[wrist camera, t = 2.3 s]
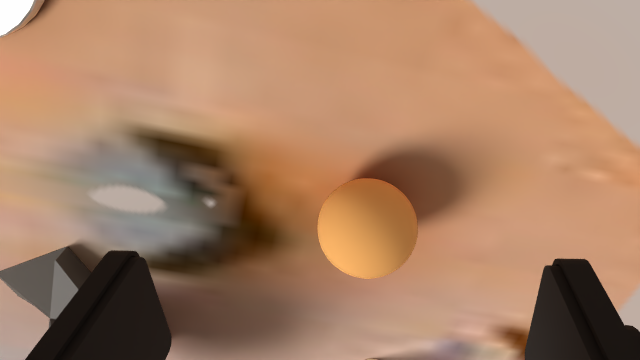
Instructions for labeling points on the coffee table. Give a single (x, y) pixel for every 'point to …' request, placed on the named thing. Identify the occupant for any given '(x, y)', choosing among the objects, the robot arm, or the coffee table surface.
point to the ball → (367, 228)
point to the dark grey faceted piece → (48, 280)
